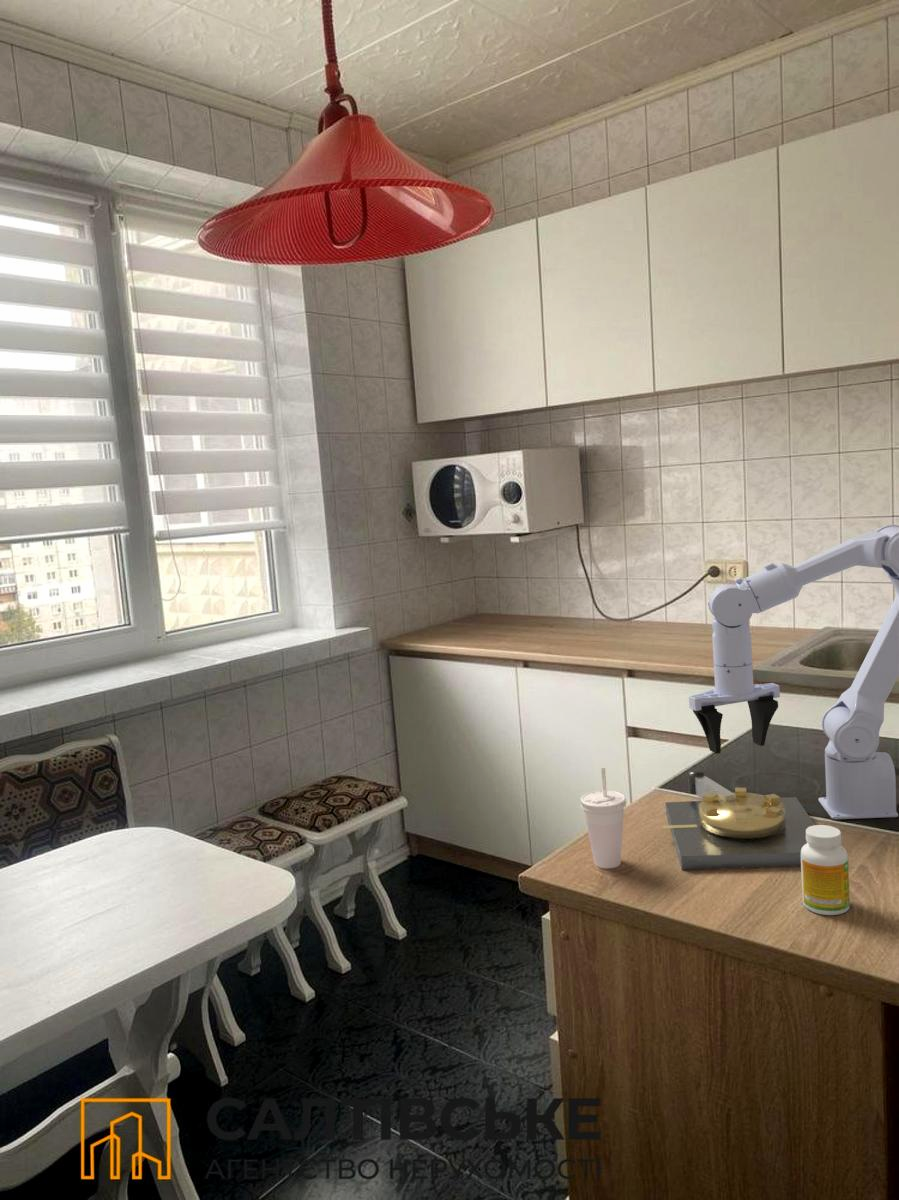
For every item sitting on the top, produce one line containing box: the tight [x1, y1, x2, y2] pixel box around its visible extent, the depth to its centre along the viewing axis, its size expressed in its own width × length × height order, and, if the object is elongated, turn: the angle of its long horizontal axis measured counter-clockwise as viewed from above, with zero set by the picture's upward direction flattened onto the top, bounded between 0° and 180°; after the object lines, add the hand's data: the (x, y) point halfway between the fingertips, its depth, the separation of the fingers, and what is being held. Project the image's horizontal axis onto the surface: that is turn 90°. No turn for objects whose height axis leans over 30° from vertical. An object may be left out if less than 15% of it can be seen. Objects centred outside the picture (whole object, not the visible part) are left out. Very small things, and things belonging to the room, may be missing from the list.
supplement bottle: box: [800, 824, 851, 916], centre depth 110 cm, size 5×5×10 cm
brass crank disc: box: [687, 768, 786, 838], centre depth 136 cm, size 21×12×3 cm, turn 13°
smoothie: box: [580, 766, 627, 870], centre depth 127 cm, size 6×6×14 cm
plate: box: [661, 796, 816, 871], centre depth 132 cm, size 22×20×2 cm
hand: (737, 747), depth 140 cm, fingers open, 7 cm apart
